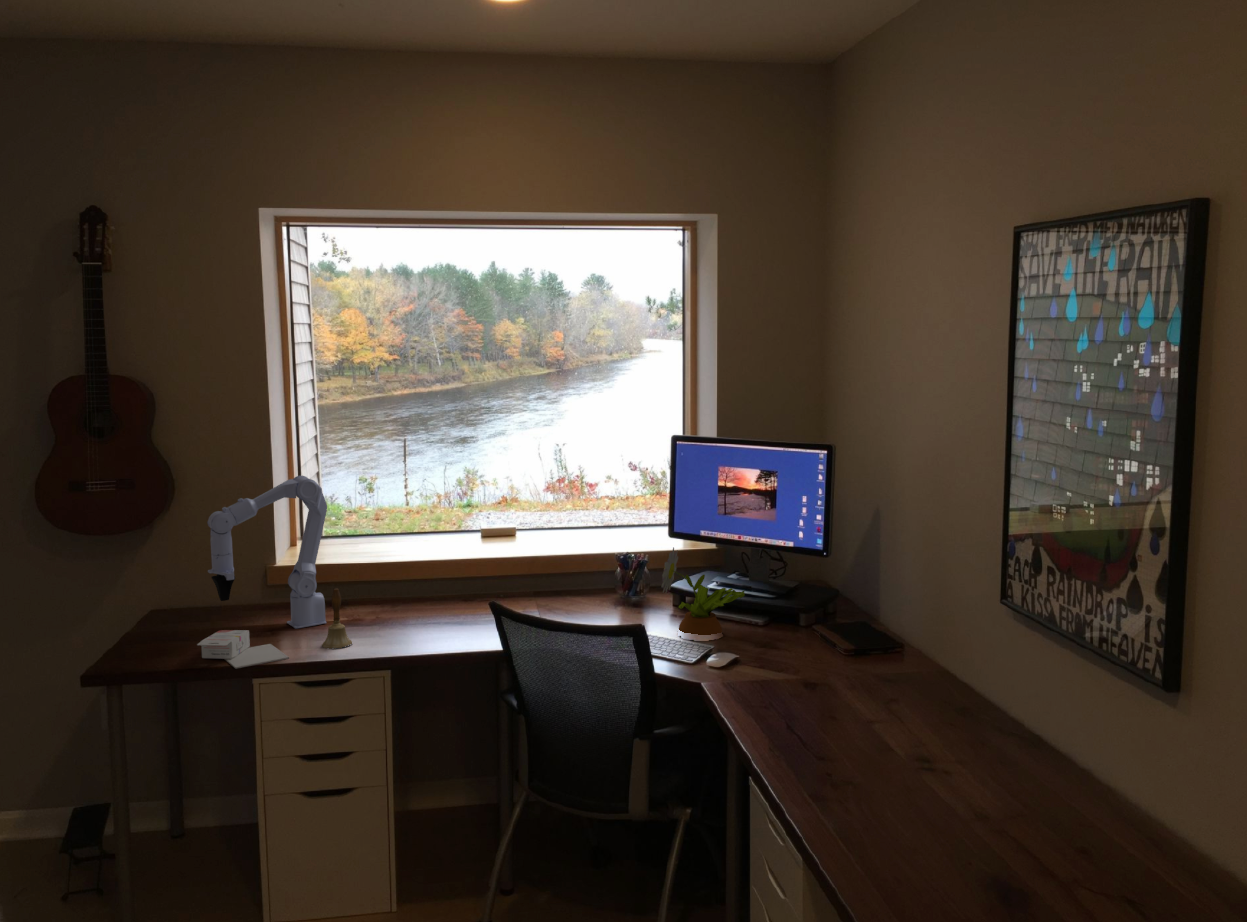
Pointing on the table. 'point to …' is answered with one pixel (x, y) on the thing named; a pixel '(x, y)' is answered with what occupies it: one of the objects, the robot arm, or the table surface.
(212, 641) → the ink cartridge box
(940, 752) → the table surface
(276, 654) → the mat
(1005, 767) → the table surface
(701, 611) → the decorative plant
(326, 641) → the hand bell
